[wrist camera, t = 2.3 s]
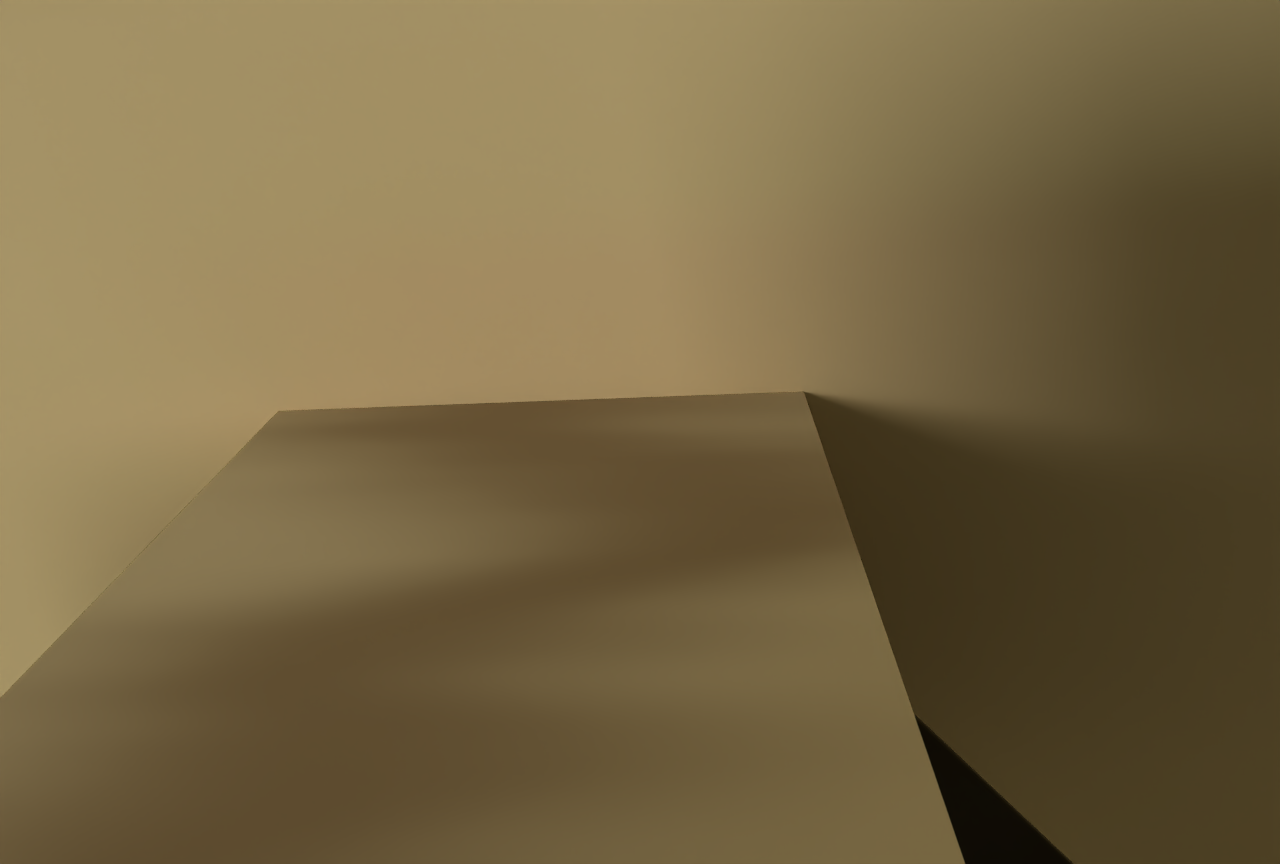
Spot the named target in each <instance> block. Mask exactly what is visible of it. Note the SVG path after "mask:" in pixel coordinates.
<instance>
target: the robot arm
mask: <svg viewBox="0 0 1280 864" xmlns="http://www.w3.org/2000/svg"><path fill="white" fill-rule="evenodd" d="M914 716H915V719H916V722H917V725H918V727H919V730H920V733H921V736H922V739H923V742H924V745H925V748H926V751H927V754H928V757H929V760H930V763H931V766H932V768H933V771H934V774H935V777H936V780H937V783H938V786H939V789H940V792H941V795H942V798H943V801H944V804H945V806H946V809H947V812H948V815H949V818H950V821H951V824H952V827H953V830H954V833H955V836H956V839H957V842H958V845H959V847H960V850H961V853H962V856H963V859H964V862H965V864H1073V863H1072V862H1071V861H1070V860H1069V859H1068V858H1067V857H1066V856H1065V855H1064V854H1063V853H1061V852H1060V851H1059V850H1058V849H1057V848H1056V847H1055V846H1054V845H1053V844H1052V843H1051V842H1050V841H1049V840H1048V839H1047V838H1046V837H1044V836H1043V835H1042V834H1041V833H1040V832H1039V831H1038V830H1037V829H1036V828H1035V827H1034V826H1033V825H1032V824H1031V823H1030V822H1029V821H1027V820H1026V819H1025V818H1024V817H1023V816H1022V815H1021V814H1020V813H1019V812H1018V811H1017V810H1016V809H1015V808H1014V807H1013V806H1012V805H1010V804H1009V803H1008V802H1007V801H1006V800H1005V799H1004V798H1003V797H1002V796H1001V795H1000V794H999V793H998V792H997V791H996V790H995V789H993V788H992V787H991V786H990V785H989V784H988V783H987V782H986V781H985V780H984V779H983V778H982V777H981V776H980V775H979V774H978V773H976V772H975V771H974V770H973V769H972V768H971V767H970V766H969V765H968V764H967V763H966V762H965V761H964V760H963V759H962V758H960V757H959V756H958V755H957V754H956V753H955V752H954V751H953V750H952V749H951V748H950V747H949V746H948V745H947V744H946V743H945V742H943V741H942V740H941V739H940V738H939V737H938V736H937V735H936V734H935V733H934V732H933V731H932V730H931V729H930V728H929V727H928V726H926V725H925V724H924V723H923V722H922V721H921V720H920V719H919V718H918V717H917V716H916V715H915V714H914Z"/></svg>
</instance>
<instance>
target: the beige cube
mask: <svg viewBox="0 0 1280 864" xmlns="http://www.w3.org/2000/svg"><path fill="white" fill-rule="evenodd" d="M0 864H965V862H964V859H963V856H962V853H961V850H960V847H959V845H958V842H957V839H956V836H955V833H954V830H953V827H952V824H951V821H950V818H949V815H948V812H947V809H946V806H945V804H944V801H943V798H942V795H941V792H940V789H939V786H938V783H937V780H936V777H935V774H934V771H933V768H932V766H931V763H930V760H929V757H928V754H927V751H926V748H925V745H924V742H923V739H922V736H921V733H920V730H919V727H918V725H917V722H916V719H915V716H914V713H913V710H912V707H911V704H910V701H909V698H908V695H907V692H906V689H905V687H904V684H903V681H902V678H901V675H900V672H899V669H898V666H897V663H896V660H895V657H894V654H893V651H892V649H891V646H890V643H889V640H888V637H887V634H886V631H885V628H884V625H883V622H882V619H881V616H880V613H879V610H878V608H877V605H876V602H875V599H874V596H873V593H872V590H871V587H870V584H869V581H868V578H867V575H866V572H865V570H864V567H863V564H862V561H861V558H860V555H859V552H858V549H857V546H856V543H855V540H854V537H853V534H852V532H851V529H850V526H849V523H848V520H847V517H846V514H845V511H844V508H843V505H842V502H841V499H840V496H839V493H838V491H837V488H836V485H835V482H834V479H833V476H832V473H831V470H830V467H829V464H828V461H827V458H826V455H825V453H824V450H823V447H822V444H821V441H820V438H819V435H818V432H817V429H816V426H815V423H814V420H813V417H812V414H811V412H810V409H809V406H808V403H807V400H806V397H805V394H804V392H778V393H751V394H724V395H697V396H670V397H643V398H616V399H589V400H562V401H535V402H508V403H480V404H453V405H426V406H399V407H372V408H345V409H318V410H291V411H278V412H277V413H276V414H275V415H274V416H273V417H272V418H271V419H270V420H269V421H268V422H267V423H266V424H265V425H264V426H263V428H262V429H261V430H260V431H259V432H258V433H257V434H256V435H255V436H254V437H253V438H252V439H251V440H250V441H249V442H248V443H247V444H246V445H245V446H244V447H243V448H242V449H241V450H240V451H239V452H238V453H237V454H236V455H235V456H234V457H233V458H232V460H231V461H230V462H229V463H228V464H227V465H226V466H225V467H224V468H223V469H222V470H221V471H220V472H219V473H218V474H217V475H216V476H215V477H214V478H213V479H212V480H211V481H210V482H209V483H208V484H207V485H206V486H205V487H204V488H203V489H202V490H201V491H200V493H199V494H198V495H197V496H196V497H195V498H194V499H193V500H192V501H191V502H190V503H189V504H188V505H187V506H186V507H185V508H184V509H183V510H182V511H181V512H180V513H179V514H178V515H177V516H176V517H175V518H174V519H173V520H172V521H171V522H170V523H169V525H168V526H167V527H166V528H165V529H164V530H163V531H162V532H161V533H160V534H159V535H158V536H157V537H156V538H155V539H154V540H153V541H152V542H151V543H150V544H149V545H148V546H147V547H146V548H145V549H144V550H143V551H142V552H141V553H140V554H139V555H138V556H137V558H136V559H135V560H134V561H133V562H132V563H131V564H130V565H129V566H128V567H127V568H126V569H125V570H124V571H123V572H122V573H121V574H120V575H119V576H118V577H117V578H116V579H115V580H114V581H113V582H112V583H111V584H110V585H109V586H108V587H107V588H106V589H105V591H104V592H103V593H102V594H101V595H100V596H99V597H98V598H97V599H96V600H95V601H94V602H93V603H92V604H91V605H90V606H89V607H88V608H87V609H86V610H85V611H84V612H83V613H82V614H81V615H80V616H79V617H78V618H77V619H76V620H75V621H74V623H73V624H72V625H71V626H70V627H69V628H68V629H67V630H66V631H65V632H64V633H63V634H62V635H61V636H60V637H59V638H58V639H57V640H56V641H55V642H54V643H53V644H52V645H51V646H50V647H49V648H48V649H47V650H46V651H45V652H44V653H43V654H42V656H41V657H40V658H39V659H38V660H37V661H36V662H35V663H34V664H33V665H32V666H31V667H30V668H29V669H28V670H27V671H26V672H25V673H24V674H23V675H22V676H21V677H20V678H19V679H18V680H17V681H16V682H15V683H14V684H13V685H12V686H11V688H10V689H9V690H8V691H7V692H6V693H5V694H4V695H3V696H2V697H1V698H0Z"/></svg>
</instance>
